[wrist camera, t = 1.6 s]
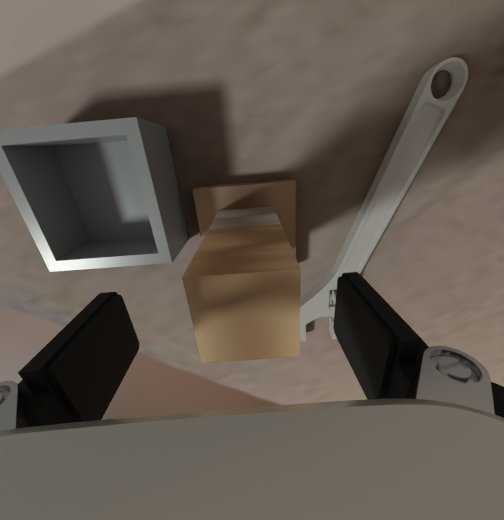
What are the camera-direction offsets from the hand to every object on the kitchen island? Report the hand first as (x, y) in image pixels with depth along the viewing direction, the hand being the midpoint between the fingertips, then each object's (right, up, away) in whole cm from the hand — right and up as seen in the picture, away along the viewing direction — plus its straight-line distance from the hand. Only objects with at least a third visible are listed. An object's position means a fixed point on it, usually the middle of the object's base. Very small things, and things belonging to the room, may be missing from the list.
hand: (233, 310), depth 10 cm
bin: (-10, +8, +9) cm, 16 cm away
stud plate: (+1, +5, +11) cm, 12 cm away
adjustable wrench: (+11, +5, +12) cm, 17 cm away
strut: (+1, +4, +9) cm, 10 cm away
